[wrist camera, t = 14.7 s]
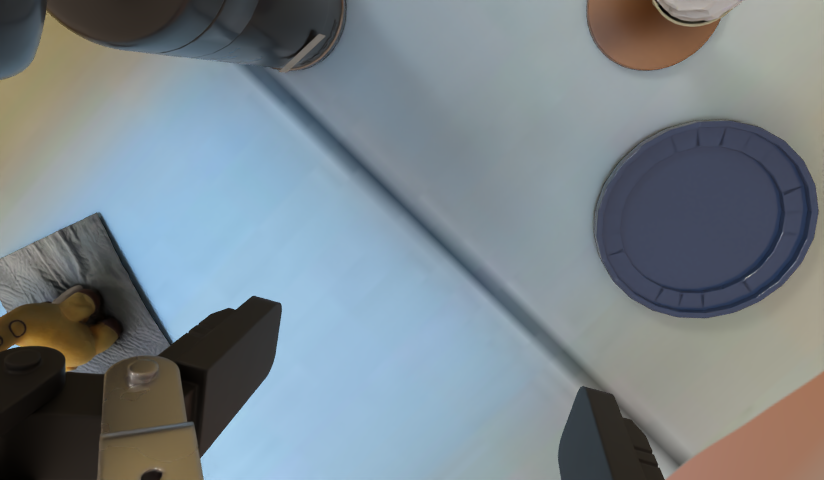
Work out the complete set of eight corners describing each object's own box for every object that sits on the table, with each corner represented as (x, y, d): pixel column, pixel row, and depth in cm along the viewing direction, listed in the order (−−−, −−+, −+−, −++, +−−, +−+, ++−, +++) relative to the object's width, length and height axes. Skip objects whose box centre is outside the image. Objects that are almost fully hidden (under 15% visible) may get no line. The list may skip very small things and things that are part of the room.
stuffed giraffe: (97, 212, 47) (-92, 277, 32) (193, 372, 51) (63, 496, 36) (-15, 266, 52) (-226, 345, 37) (80, 410, 56) (-75, 533, 41)
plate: (552, 219, 41) (555, 224, 39) (710, 75, 36) (721, 74, 35) (680, 343, 42) (687, 354, 40) (849, 219, 37) (865, 225, 36)
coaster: (559, 9, 37) (560, 7, 36) (661, -101, 34) (664, -105, 33) (645, 97, 37) (648, 97, 37) (753, -4, 35) (757, -6, 34)
